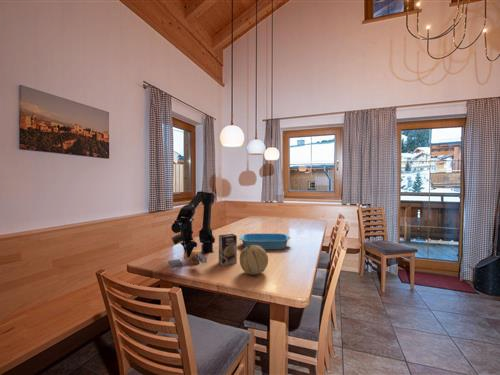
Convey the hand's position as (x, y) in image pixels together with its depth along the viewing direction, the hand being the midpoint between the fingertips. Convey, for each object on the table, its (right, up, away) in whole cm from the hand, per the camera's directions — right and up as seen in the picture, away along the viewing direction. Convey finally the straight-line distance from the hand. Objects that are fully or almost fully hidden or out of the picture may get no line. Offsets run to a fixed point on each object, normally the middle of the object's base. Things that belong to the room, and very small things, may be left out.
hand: (187, 256), depth 136 cm
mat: (-6, -4, -1) cm, 8 cm away
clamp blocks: (+4, -4, +2) cm, 6 cm away
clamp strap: (+10, 0, -8) cm, 13 cm away
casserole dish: (+47, -3, +35) cm, 58 cm away
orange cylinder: (+2, -1, +1) cm, 3 cm away
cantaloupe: (+38, -5, -15) cm, 41 cm away
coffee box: (+23, -4, 0) cm, 24 cm away
